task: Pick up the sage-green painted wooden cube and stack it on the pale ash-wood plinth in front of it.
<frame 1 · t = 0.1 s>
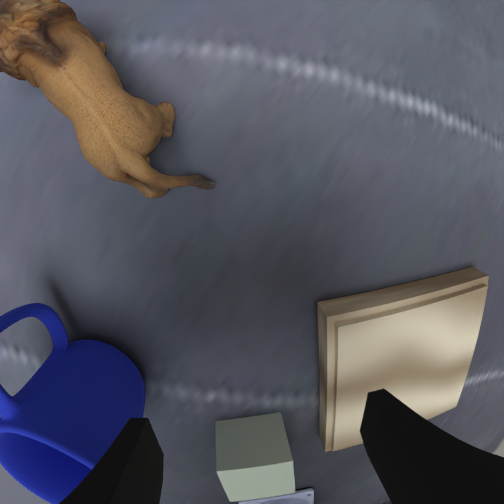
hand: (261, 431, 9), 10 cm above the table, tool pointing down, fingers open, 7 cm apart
lion figurine: (106, 105, 15), on the table
mug: (89, 349, 19), on the table
plinth: (398, 359, 21), on the table
sage cube: (252, 435, 22), on the table
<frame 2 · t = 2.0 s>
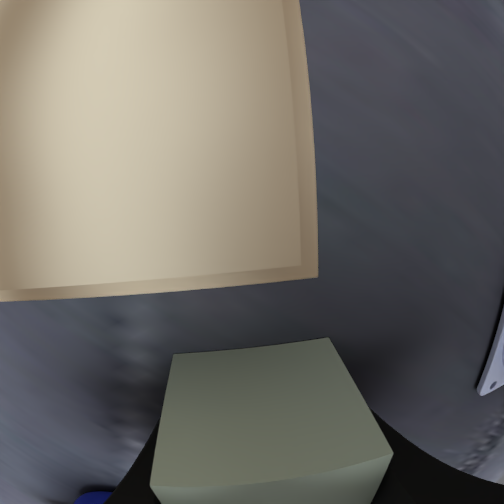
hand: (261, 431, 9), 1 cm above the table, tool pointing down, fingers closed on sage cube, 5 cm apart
plinth: (59, 60, 7), on the table
sage cube: (256, 403, 10), on the table, touching gripper
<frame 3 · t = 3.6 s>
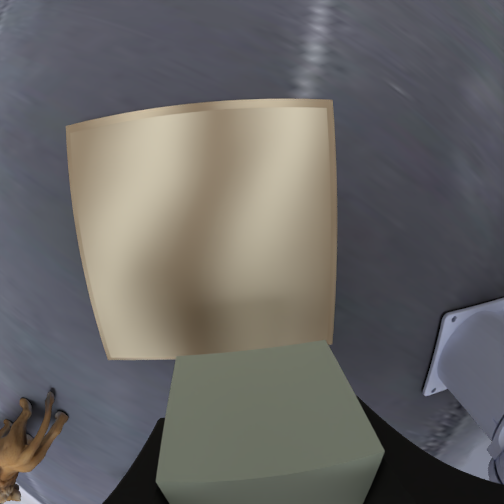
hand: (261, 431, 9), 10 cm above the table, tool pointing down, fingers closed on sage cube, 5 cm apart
lion figurine: (33, 425, 20), on the table
plinth: (205, 232, 17), on the table
sage cube: (256, 402, 11), point 8 cm above the table, touching gripper
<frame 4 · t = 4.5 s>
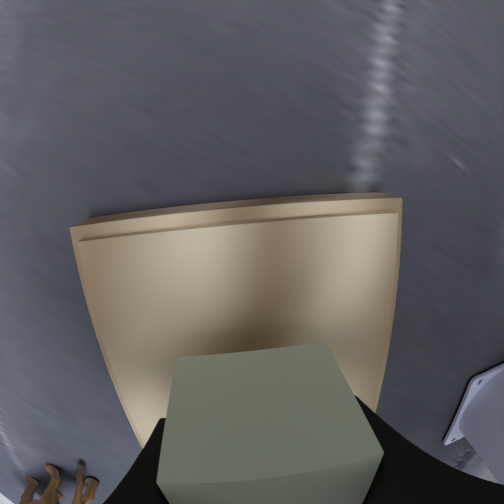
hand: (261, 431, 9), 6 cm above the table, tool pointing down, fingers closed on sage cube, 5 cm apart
lion figurine: (59, 483, 18), on the table
plinth: (247, 338, 15), on the table
sage cube: (256, 403, 11), point 4 cm above the table, touching gripper
when the fingers open (5 cm above the table, at t = 5.2 s): sage cube stays where it is, resting on plinth.
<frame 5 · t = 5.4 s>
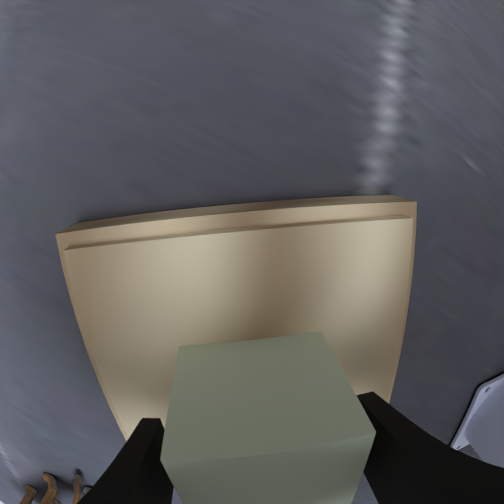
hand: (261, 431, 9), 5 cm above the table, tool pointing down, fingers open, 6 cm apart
lion figurine: (57, 491, 17), on the table
plinth: (248, 350, 14), on the table
sage cube: (255, 392, 11), point 2 cm above the table, touching plinth
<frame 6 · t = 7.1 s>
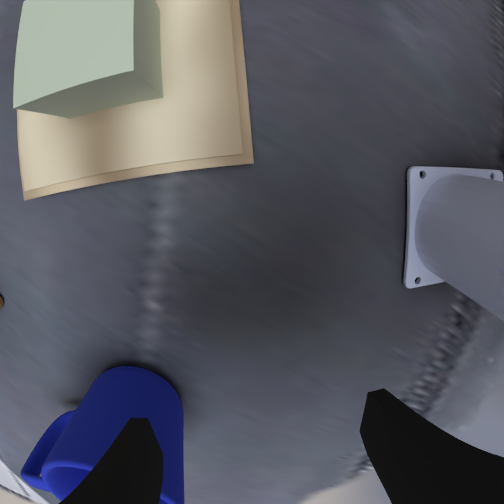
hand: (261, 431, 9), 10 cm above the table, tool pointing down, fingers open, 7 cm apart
mug: (118, 396, 21), on the table
plinth: (126, 68, 14), on the table
sage cube: (112, 61, 12), point 2 cm above the table, touching plinth
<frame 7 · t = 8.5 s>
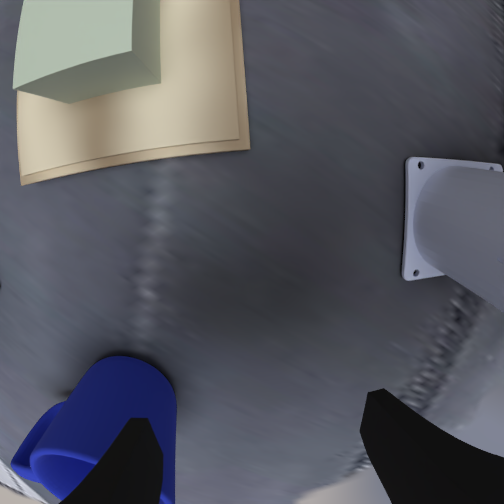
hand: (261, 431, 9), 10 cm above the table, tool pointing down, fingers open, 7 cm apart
mug: (112, 387, 21), on the table
plinth: (125, 56, 14), on the table
sage cube: (112, 48, 12), point 2 cm above the table, touching plinth
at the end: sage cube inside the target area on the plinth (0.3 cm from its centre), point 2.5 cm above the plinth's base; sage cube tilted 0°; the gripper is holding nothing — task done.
